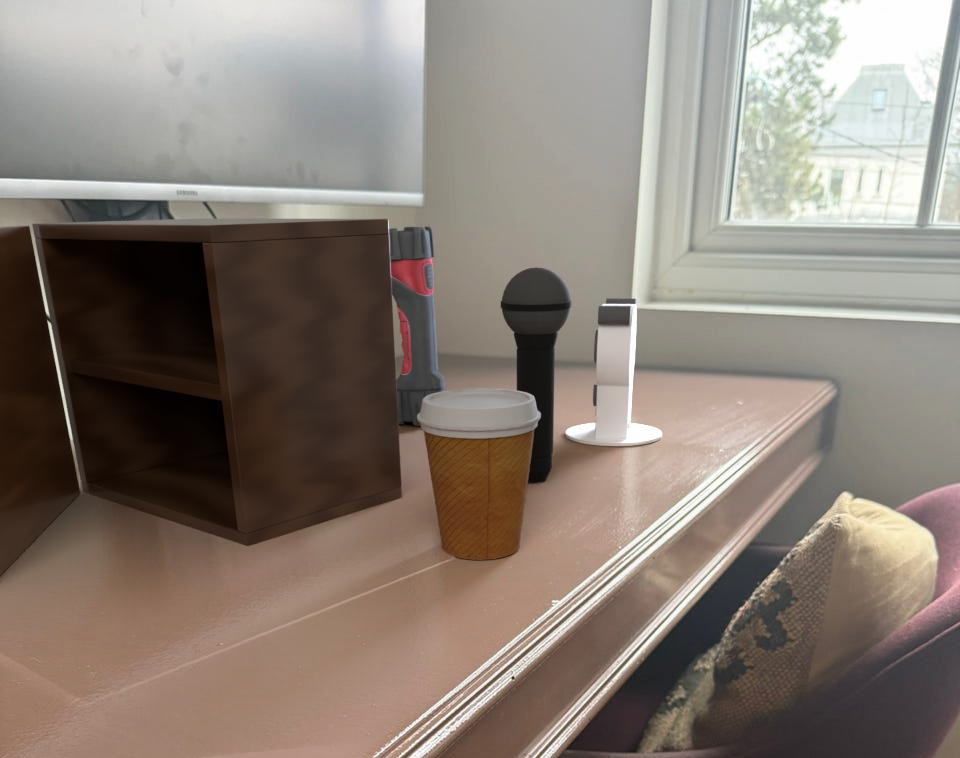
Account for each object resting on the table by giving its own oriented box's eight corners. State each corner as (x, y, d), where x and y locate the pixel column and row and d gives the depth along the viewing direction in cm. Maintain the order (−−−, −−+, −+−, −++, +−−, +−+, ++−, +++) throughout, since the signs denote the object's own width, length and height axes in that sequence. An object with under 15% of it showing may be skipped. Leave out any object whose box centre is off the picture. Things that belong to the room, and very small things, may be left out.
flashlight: (374, 418, 126) (363, 226, 117) (432, 413, 128) (425, 225, 119) (388, 430, 119) (377, 228, 110) (448, 424, 122) (443, 226, 112)
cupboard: (248, 547, 80) (209, 225, 69) (82, 492, 95) (31, 223, 85) (402, 498, 92) (388, 218, 82) (233, 457, 108) (204, 218, 98)
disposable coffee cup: (444, 525, 84) (439, 385, 79) (551, 534, 82) (553, 389, 77) (405, 561, 76) (397, 407, 71) (522, 572, 73) (523, 413, 68)
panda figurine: (572, 422, 122) (575, 296, 116) (663, 425, 120) (671, 297, 113) (559, 444, 111) (562, 307, 105) (660, 447, 109) (668, 307, 103)
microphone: (574, 486, 95) (580, 268, 87) (508, 490, 94) (507, 270, 86) (558, 469, 101) (562, 264, 92) (496, 473, 100) (494, 266, 92)
